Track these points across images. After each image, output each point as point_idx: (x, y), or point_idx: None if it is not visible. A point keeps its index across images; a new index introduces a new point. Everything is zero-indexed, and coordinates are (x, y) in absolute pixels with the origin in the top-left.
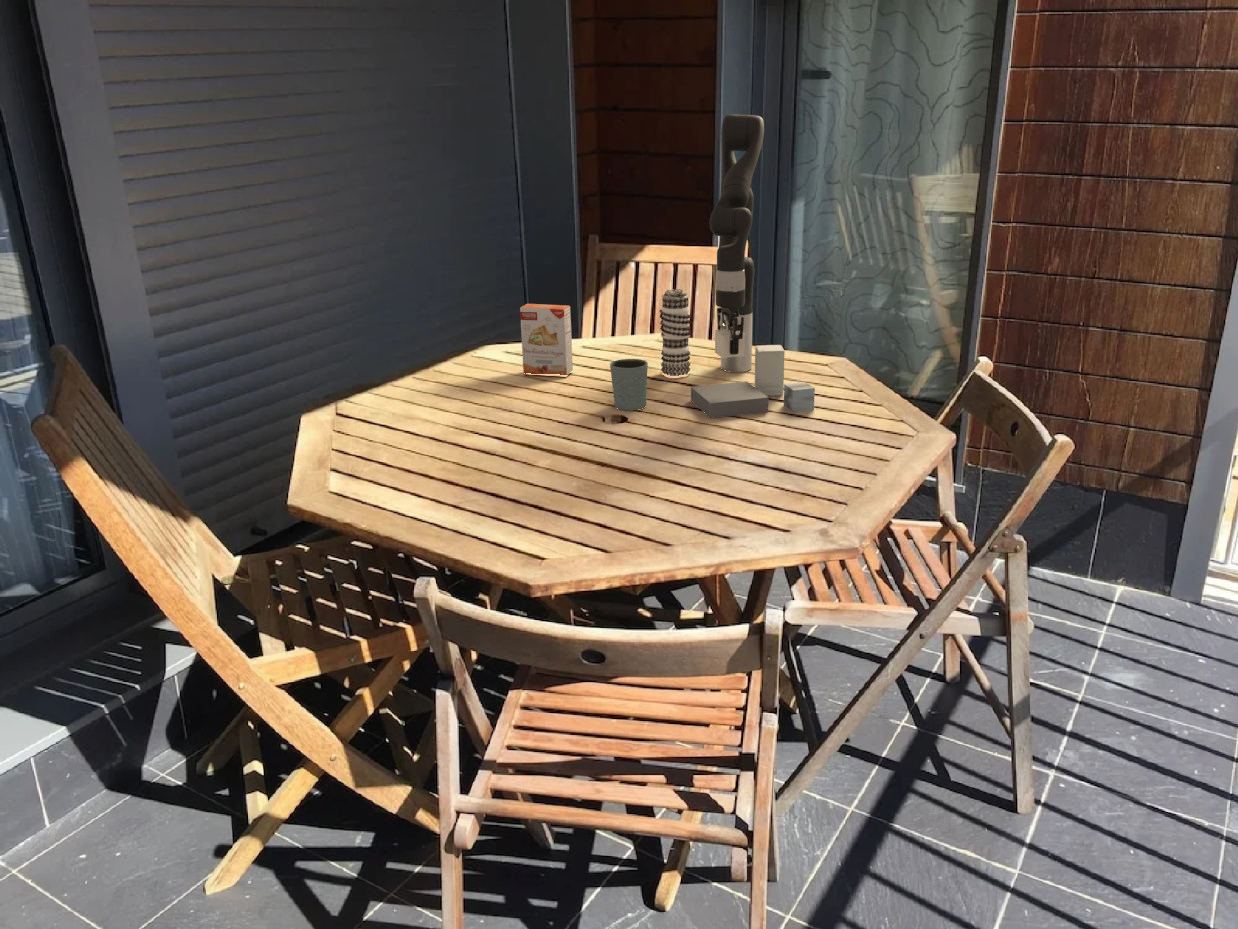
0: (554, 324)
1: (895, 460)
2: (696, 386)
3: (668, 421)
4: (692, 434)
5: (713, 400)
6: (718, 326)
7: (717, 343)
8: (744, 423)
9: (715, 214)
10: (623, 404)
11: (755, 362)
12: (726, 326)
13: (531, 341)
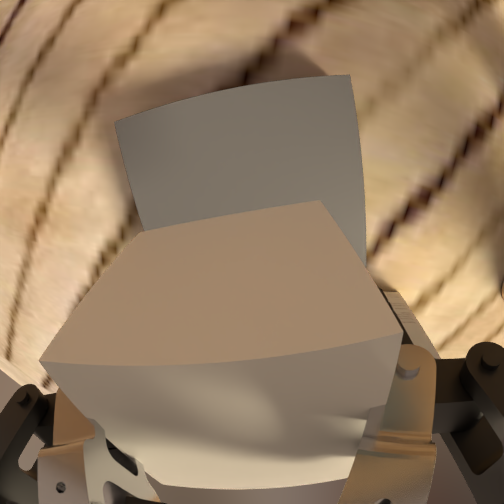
0: None
1: (11, 365)
2: (351, 96)
3: (127, 6)
4: (30, 83)
5: (145, 134)
6: (496, 377)
7: (261, 251)
8: (92, 212)
9: None
10: None
11: (416, 344)
12: (77, 494)
13: None
